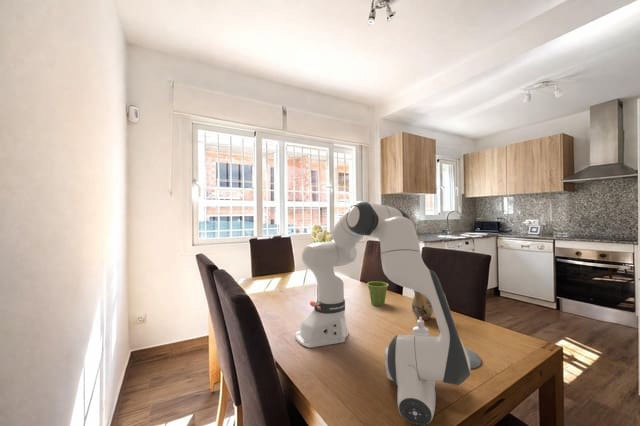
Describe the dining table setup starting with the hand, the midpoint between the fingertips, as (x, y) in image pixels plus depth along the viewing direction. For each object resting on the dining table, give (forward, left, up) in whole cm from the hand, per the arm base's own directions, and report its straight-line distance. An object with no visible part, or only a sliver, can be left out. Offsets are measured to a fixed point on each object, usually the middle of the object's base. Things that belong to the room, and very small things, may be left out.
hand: (419, 349), depth 86 cm
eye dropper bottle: (+9, +7, -6) cm, 13 cm away
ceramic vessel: (+33, +27, -6) cm, 43 cm away
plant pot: (+28, +54, -6) cm, 61 cm away
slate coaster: (+16, -2, -5) cm, 17 cm away
